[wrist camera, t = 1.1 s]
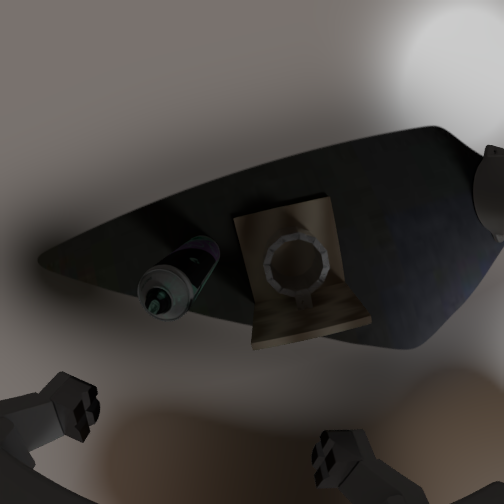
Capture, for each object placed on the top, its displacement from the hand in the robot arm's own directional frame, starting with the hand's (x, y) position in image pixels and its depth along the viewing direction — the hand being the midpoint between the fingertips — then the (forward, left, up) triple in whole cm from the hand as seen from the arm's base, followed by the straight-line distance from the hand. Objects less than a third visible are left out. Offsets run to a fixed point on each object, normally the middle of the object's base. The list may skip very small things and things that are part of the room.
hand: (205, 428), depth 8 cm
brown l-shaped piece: (-5, +3, -34) cm, 35 cm away
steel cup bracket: (-5, +4, -33) cm, 34 cm away
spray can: (+8, 0, -35) cm, 35 cm away
